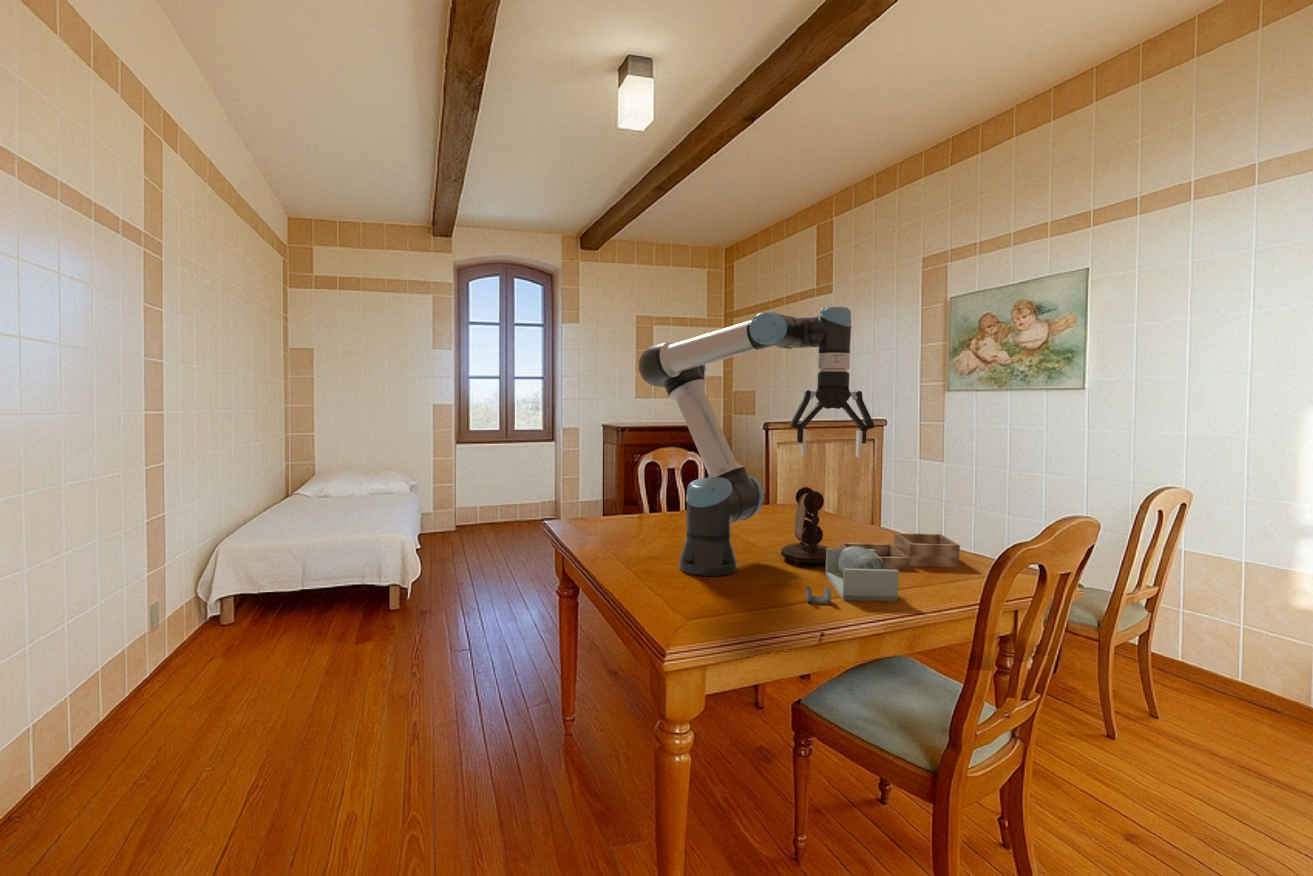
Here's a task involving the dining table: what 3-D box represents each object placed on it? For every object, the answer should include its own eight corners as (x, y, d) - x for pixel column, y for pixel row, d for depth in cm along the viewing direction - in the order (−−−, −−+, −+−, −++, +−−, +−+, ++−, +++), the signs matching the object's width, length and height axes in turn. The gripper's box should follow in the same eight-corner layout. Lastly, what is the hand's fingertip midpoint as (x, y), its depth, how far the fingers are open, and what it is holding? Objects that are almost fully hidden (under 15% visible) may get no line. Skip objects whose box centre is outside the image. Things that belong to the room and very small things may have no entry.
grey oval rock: (900, 578, 144) (878, 538, 145) (864, 598, 143) (842, 558, 145) (878, 574, 158) (858, 539, 159) (845, 593, 157) (825, 556, 158)
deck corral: (852, 567, 168) (852, 556, 168) (838, 553, 183) (839, 542, 182) (909, 569, 167) (910, 558, 167) (891, 554, 182) (891, 544, 182)
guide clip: (808, 603, 140) (808, 590, 140) (805, 599, 143) (806, 586, 143) (830, 604, 140) (831, 591, 139) (827, 599, 142) (828, 586, 142)
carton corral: (909, 566, 170) (910, 544, 169) (893, 553, 183) (894, 533, 182) (958, 567, 169) (959, 545, 169) (939, 554, 182) (940, 534, 182)
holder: (843, 600, 142) (844, 569, 142) (825, 575, 161) (826, 548, 161) (897, 601, 142) (898, 571, 141) (873, 576, 161) (874, 549, 160)
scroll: (774, 553, 181) (775, 485, 180) (823, 552, 183) (825, 484, 181) (790, 568, 167) (792, 494, 165) (844, 567, 168) (846, 493, 167)
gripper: (784, 370, 152) (782, 457, 154) (889, 371, 151) (886, 458, 153) (780, 370, 160) (778, 454, 162) (880, 371, 158) (877, 455, 160)
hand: (830, 456), depth 157 cm, fingers open, 13 cm apart
